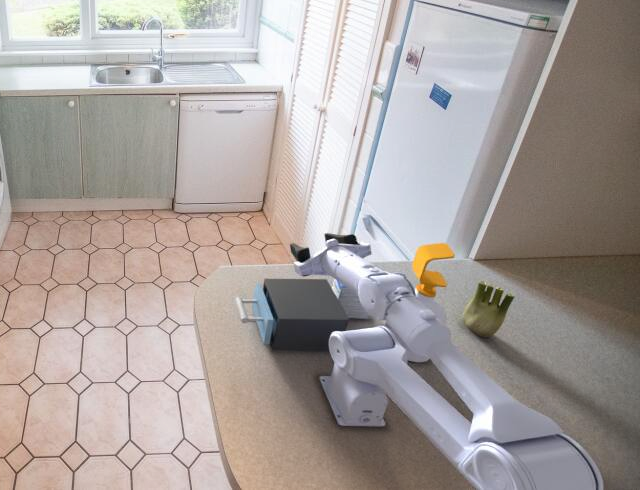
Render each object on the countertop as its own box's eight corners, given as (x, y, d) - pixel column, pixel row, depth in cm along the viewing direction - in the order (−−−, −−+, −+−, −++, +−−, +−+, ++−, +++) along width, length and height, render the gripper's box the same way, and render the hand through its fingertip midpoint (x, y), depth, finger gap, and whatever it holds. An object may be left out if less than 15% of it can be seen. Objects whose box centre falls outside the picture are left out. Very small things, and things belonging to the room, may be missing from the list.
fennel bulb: (498, 338, 95) (519, 294, 90) (480, 343, 93) (500, 299, 88) (472, 318, 100) (490, 275, 95) (454, 323, 98) (472, 279, 93)
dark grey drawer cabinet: (273, 350, 92) (279, 318, 88) (259, 308, 102) (264, 278, 99) (340, 351, 92) (349, 319, 88) (319, 308, 102) (326, 279, 98)
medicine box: (363, 305, 103) (371, 275, 99) (370, 320, 99) (380, 290, 95) (327, 303, 104) (334, 273, 100) (333, 317, 100) (341, 287, 96)
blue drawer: (241, 344, 92) (245, 319, 89) (231, 306, 101) (234, 283, 98) (325, 345, 92) (331, 320, 89) (307, 307, 101) (312, 284, 98)
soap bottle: (439, 367, 88) (481, 267, 78) (389, 359, 90) (423, 260, 79) (422, 331, 96) (458, 236, 86) (376, 324, 98) (405, 231, 87)
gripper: (384, 238, 79) (338, 215, 93) (308, 260, 78) (273, 234, 91) (389, 274, 81) (343, 246, 94) (315, 297, 79) (279, 266, 93)
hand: (309, 242), depth 93 cm, fingers open, 7 cm apart
